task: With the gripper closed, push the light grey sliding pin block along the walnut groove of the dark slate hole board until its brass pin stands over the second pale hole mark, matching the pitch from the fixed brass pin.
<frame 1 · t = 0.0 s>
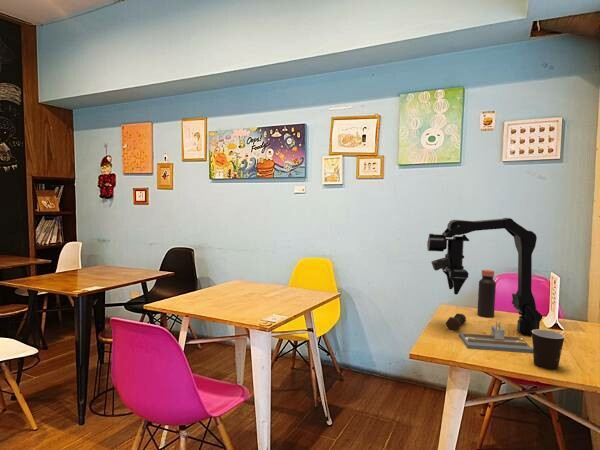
hand: (453, 291, 159), 15 cm above the table, tool pointing down, fingers open, 9 cm apart
sliding pin block: (497, 331, 143), point 5 cm above the table, slide at 0.0 cm
bottle: (485, 315, 180), on the table
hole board: (494, 343, 144), on the table
fixed brass pin: (521, 345, 142), resting on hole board
bolt: (457, 327, 164), on the table
coffee mug: (548, 365, 126), on the table
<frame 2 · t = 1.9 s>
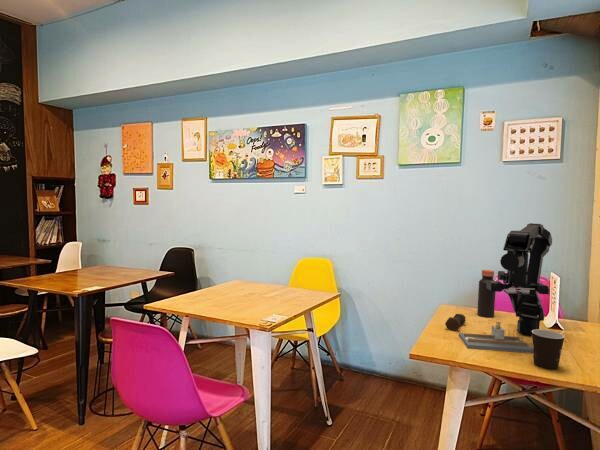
hand: (515, 311, 142), 12 cm above the table, tool pointing down, fingers closed
nothing on the table moved.
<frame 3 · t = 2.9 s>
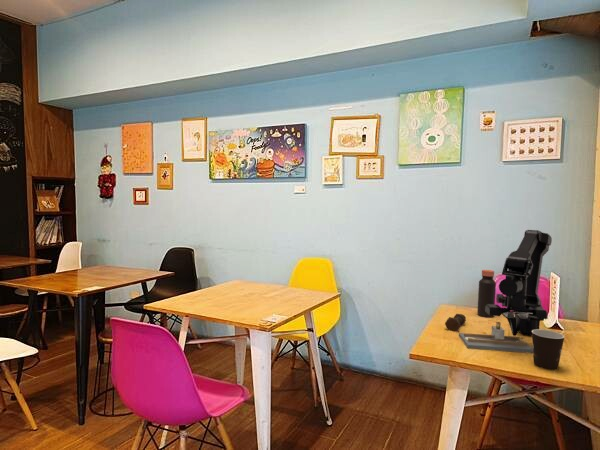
hand: (514, 335, 143), 4 cm above the table, tool pointing down, fingers closed
nothing on the table moved.
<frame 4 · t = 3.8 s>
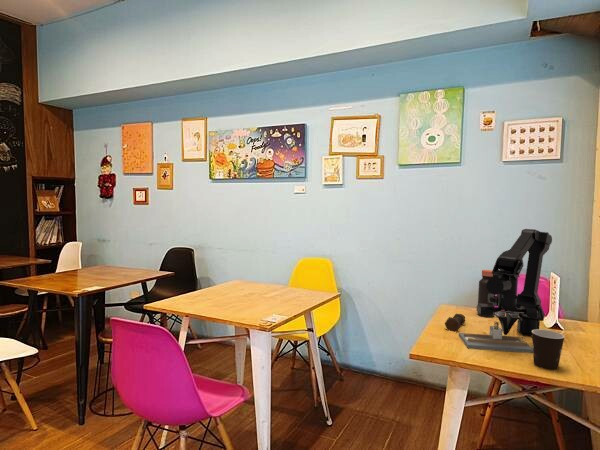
hand: (505, 334, 143), 4 cm above the table, tool pointing down, fingers closed
sliding pin block: (495, 331, 143), point 5 cm above the table, slide at 0.7 cm, touching gripper
everything else where it was.
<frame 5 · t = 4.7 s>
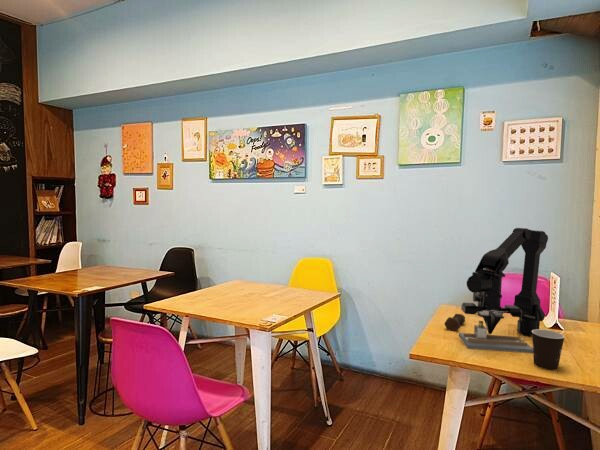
hand: (489, 333, 144), 4 cm above the table, tool pointing down, fingers closed
sliding pin block: (480, 330, 144), point 5 cm above the table, slide at 5.8 cm, touching gripper
everything else where it was.
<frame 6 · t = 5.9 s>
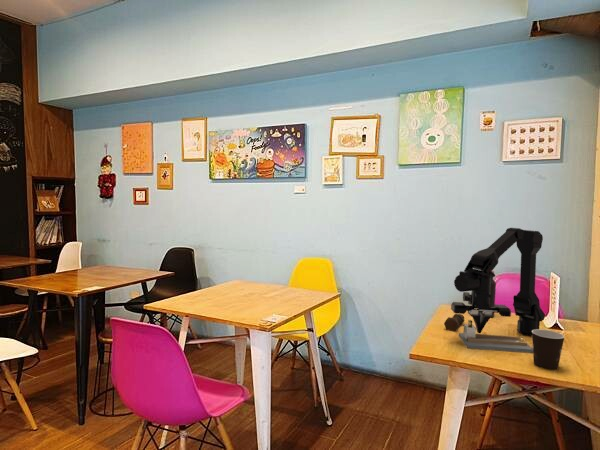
hand: (479, 333, 144), 4 cm above the table, tool pointing down, fingers closed
sliding pin block: (469, 329, 145), point 5 cm above the table, slide at 9.4 cm, touching gripper
everything else where it was.
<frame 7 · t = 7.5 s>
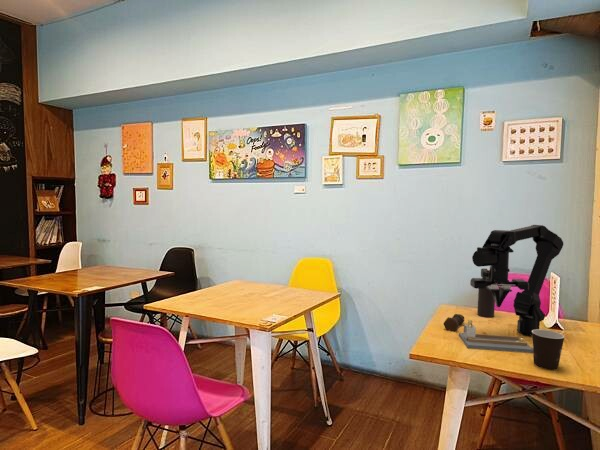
hand: (498, 306, 150), 12 cm above the table, tool pointing down, fingers closed
sliding pin block: (469, 329, 145), point 5 cm above the table, slide at 9.4 cm
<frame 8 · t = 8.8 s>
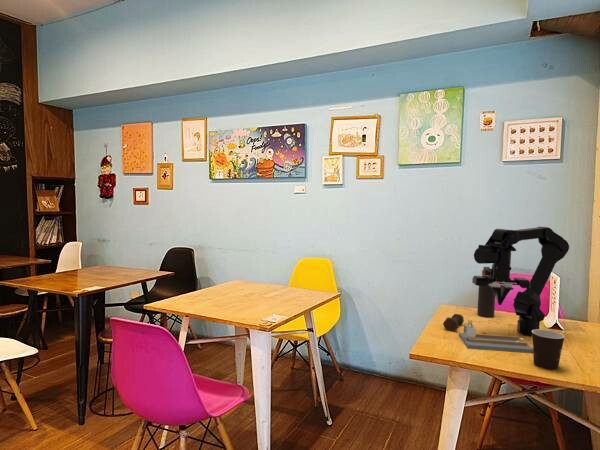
hand: (499, 304, 151), 12 cm above the table, tool pointing down, fingers closed
at the end: sliding pin block slide at 9.4 cm; sliding pin block moved 9.4 cm from its start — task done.
